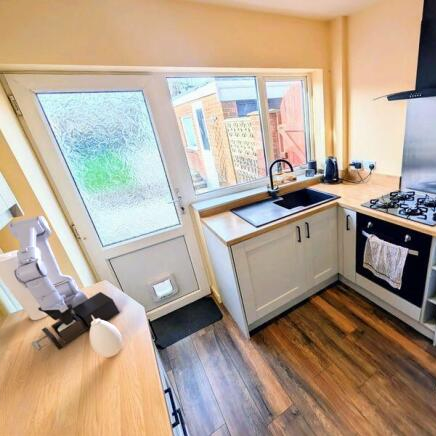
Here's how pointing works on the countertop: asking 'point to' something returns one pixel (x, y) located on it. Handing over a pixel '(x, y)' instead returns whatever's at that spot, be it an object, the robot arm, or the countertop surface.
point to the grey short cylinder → (64, 326)
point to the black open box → (61, 333)
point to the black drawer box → (96, 309)
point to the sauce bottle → (105, 338)
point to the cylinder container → (18, 286)
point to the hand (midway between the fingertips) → (64, 320)
